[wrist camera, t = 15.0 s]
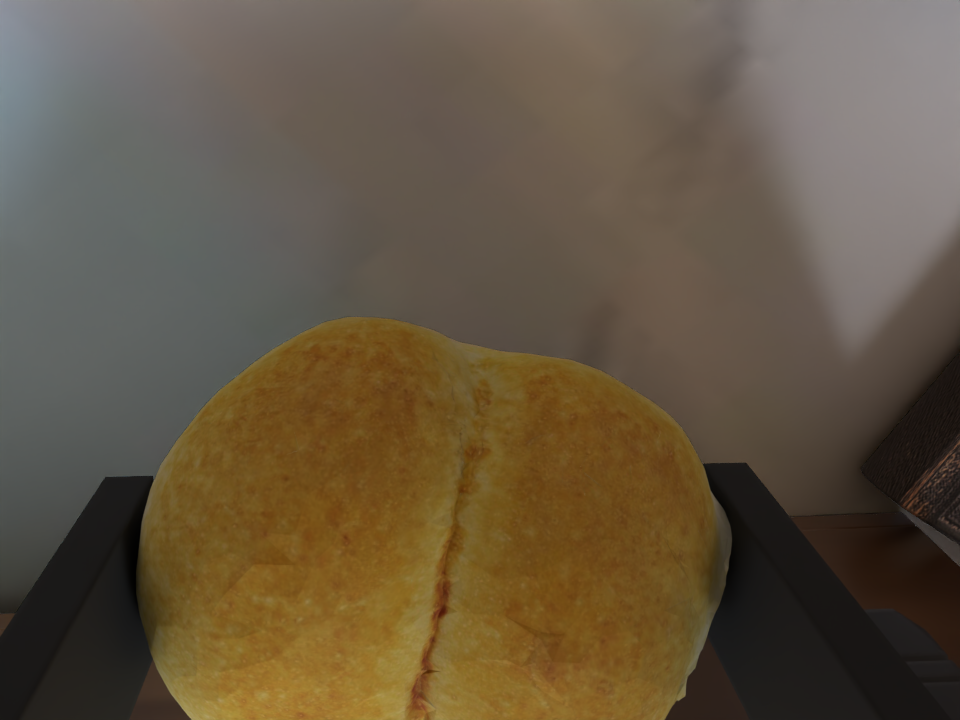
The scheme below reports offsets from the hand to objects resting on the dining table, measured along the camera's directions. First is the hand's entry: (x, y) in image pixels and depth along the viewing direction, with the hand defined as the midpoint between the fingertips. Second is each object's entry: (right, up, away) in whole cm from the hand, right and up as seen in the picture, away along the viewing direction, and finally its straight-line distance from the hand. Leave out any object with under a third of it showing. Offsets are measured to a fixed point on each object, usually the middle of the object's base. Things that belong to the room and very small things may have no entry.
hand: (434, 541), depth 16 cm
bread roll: (0, 0, 0) cm, 1 cm away
